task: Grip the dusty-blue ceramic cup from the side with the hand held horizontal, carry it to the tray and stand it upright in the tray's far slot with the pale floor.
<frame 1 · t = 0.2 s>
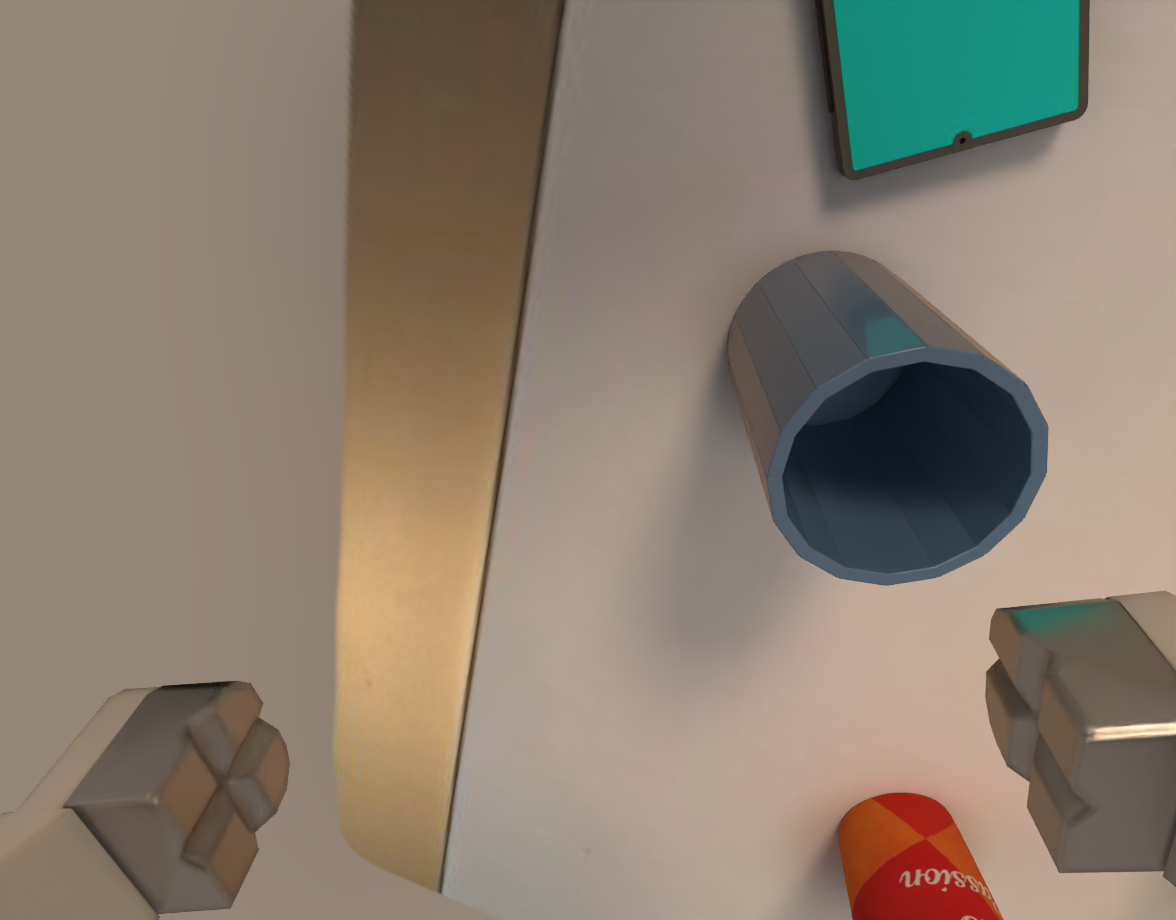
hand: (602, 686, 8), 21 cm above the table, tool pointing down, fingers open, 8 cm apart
coffee cup: (893, 826, 40), on the table
blue cup: (820, 343, 28), on the table
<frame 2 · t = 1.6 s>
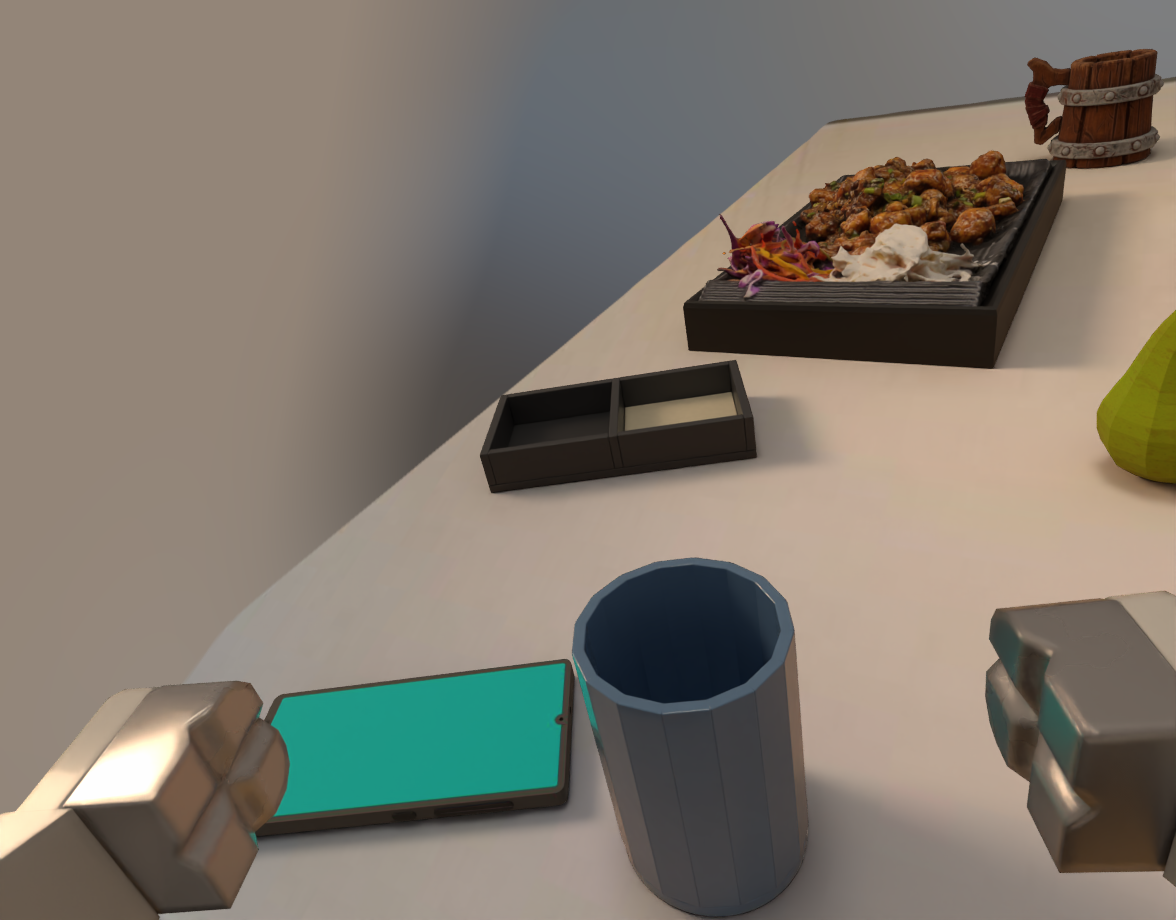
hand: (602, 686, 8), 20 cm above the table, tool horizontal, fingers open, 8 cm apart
tray: (621, 442, 56), on the table
fruit: (1161, 475, 41), on the table
blue cup: (713, 825, 28), on the table
food platter: (896, 269, 77), on the table
mug: (1084, 161, 98), on the table
smartphone: (409, 753, 34), on the table
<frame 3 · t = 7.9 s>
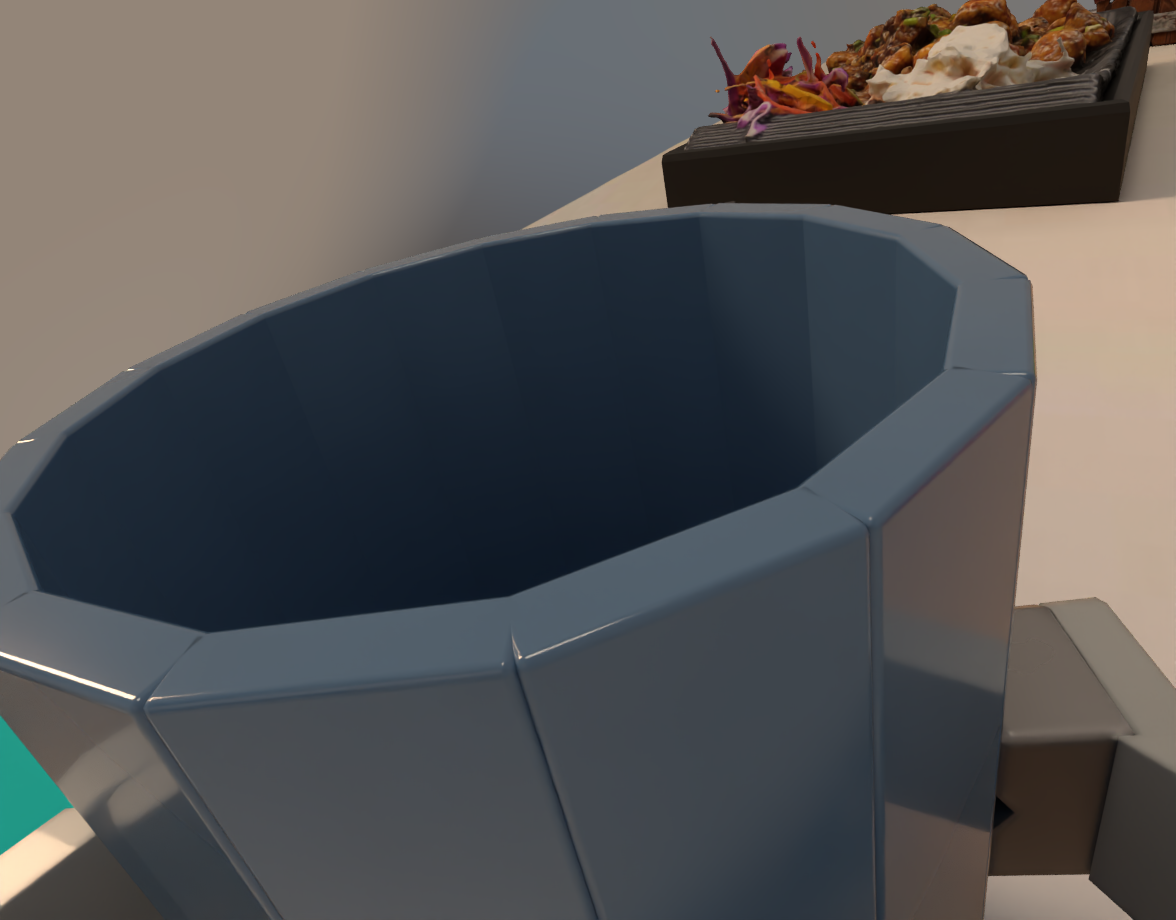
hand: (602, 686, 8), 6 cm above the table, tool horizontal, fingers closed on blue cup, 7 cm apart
food platter: (943, 137, 59), on the table
mug: (1159, 41, 81), on the table
smartphone: (39, 808, 16), on the table
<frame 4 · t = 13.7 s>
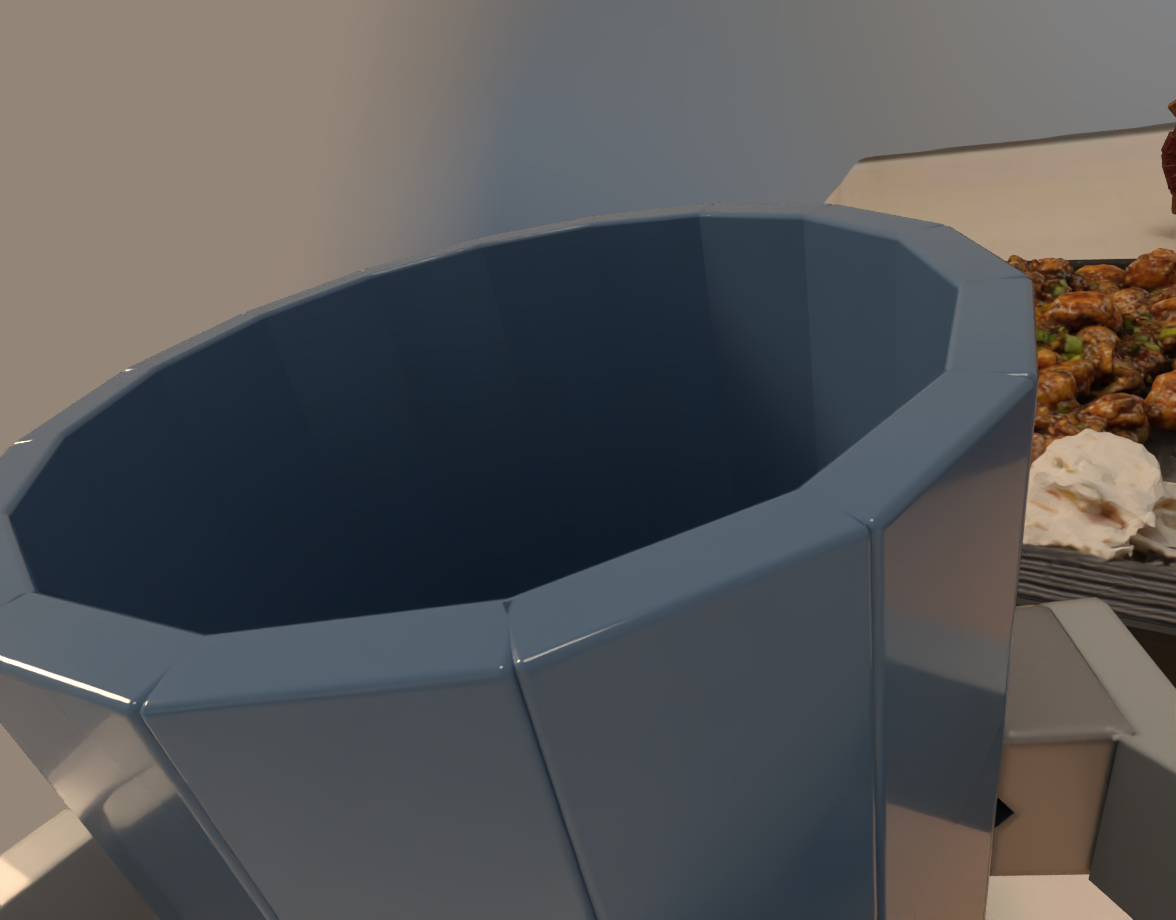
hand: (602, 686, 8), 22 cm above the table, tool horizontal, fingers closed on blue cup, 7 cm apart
food platter: (1029, 437, 50), on the table
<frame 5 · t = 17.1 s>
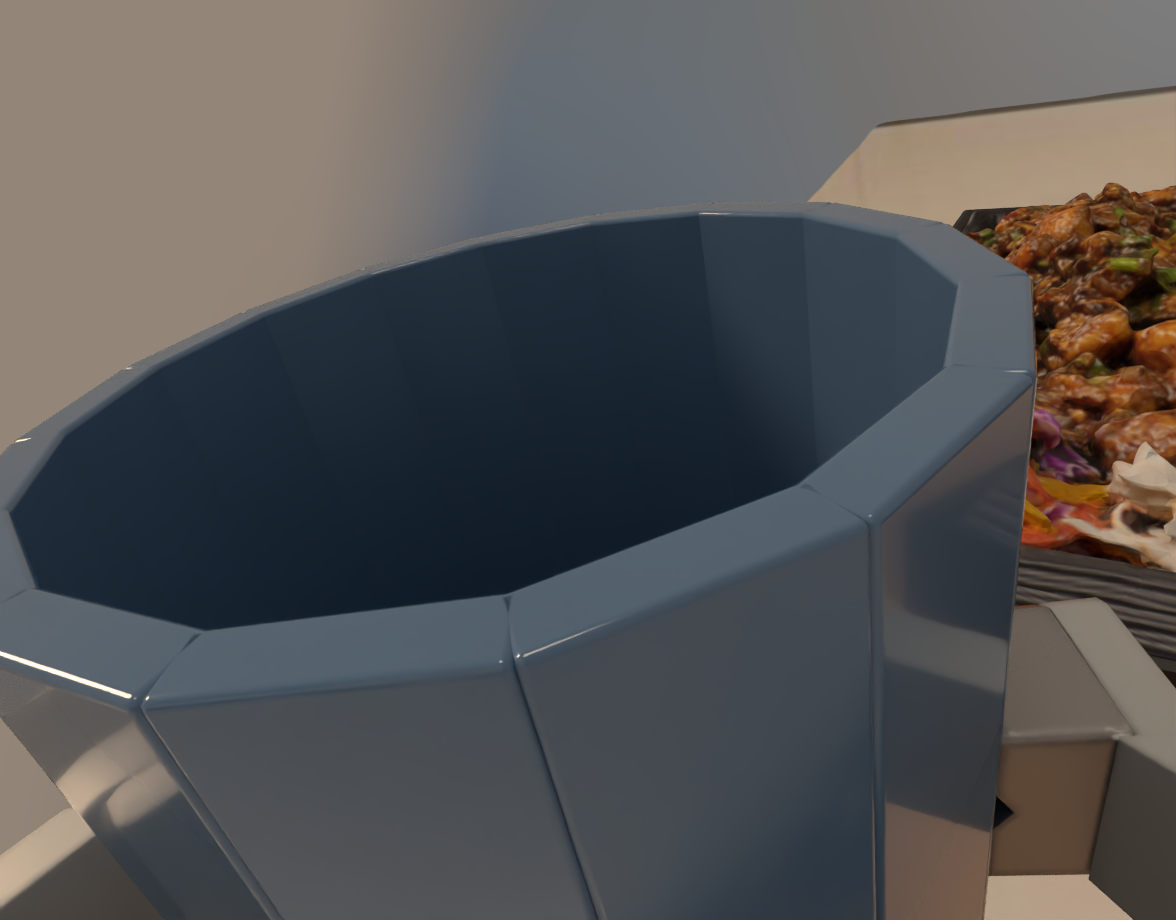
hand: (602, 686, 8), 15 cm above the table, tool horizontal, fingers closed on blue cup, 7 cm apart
food platter: (1146, 419, 37), on the table
when the fingers open (6 cm above the table, at t = 20.0 s): blue cup stays where it is, resting on tray.
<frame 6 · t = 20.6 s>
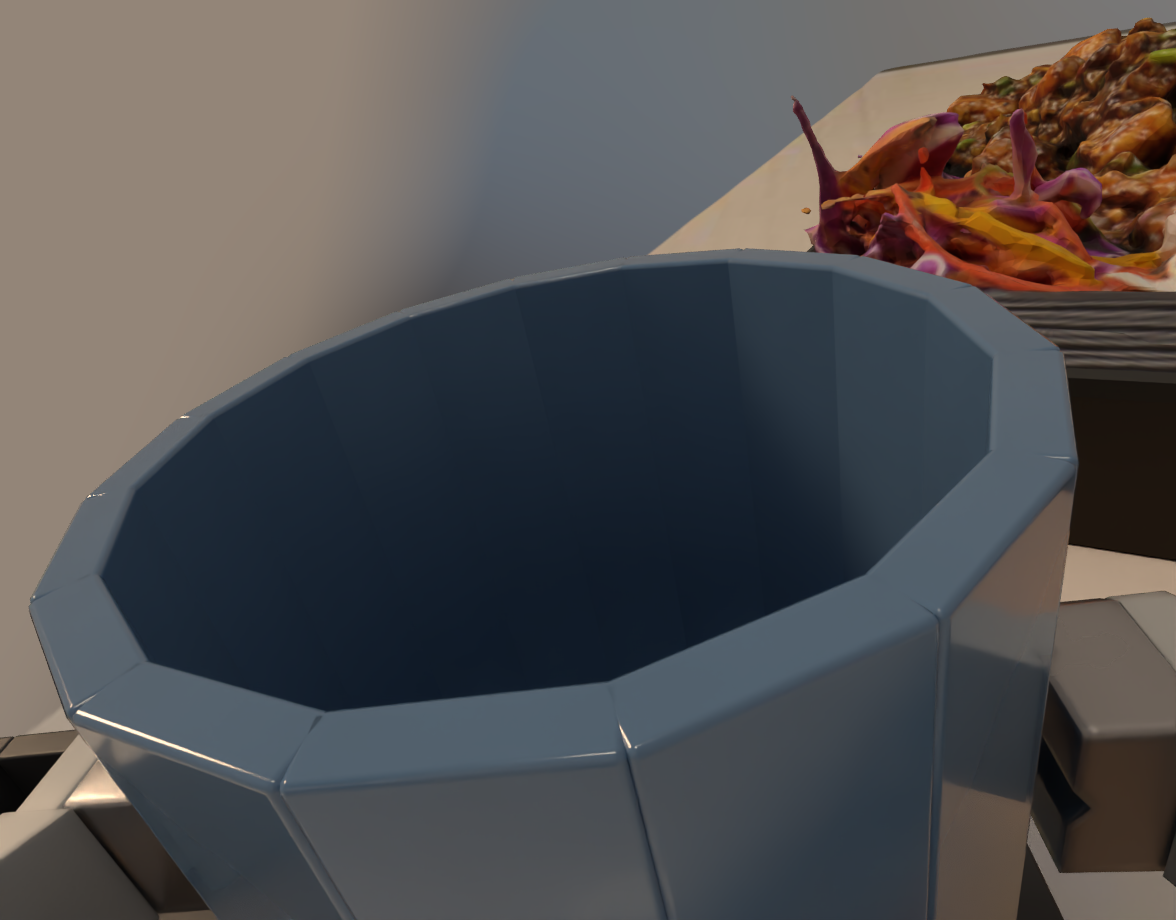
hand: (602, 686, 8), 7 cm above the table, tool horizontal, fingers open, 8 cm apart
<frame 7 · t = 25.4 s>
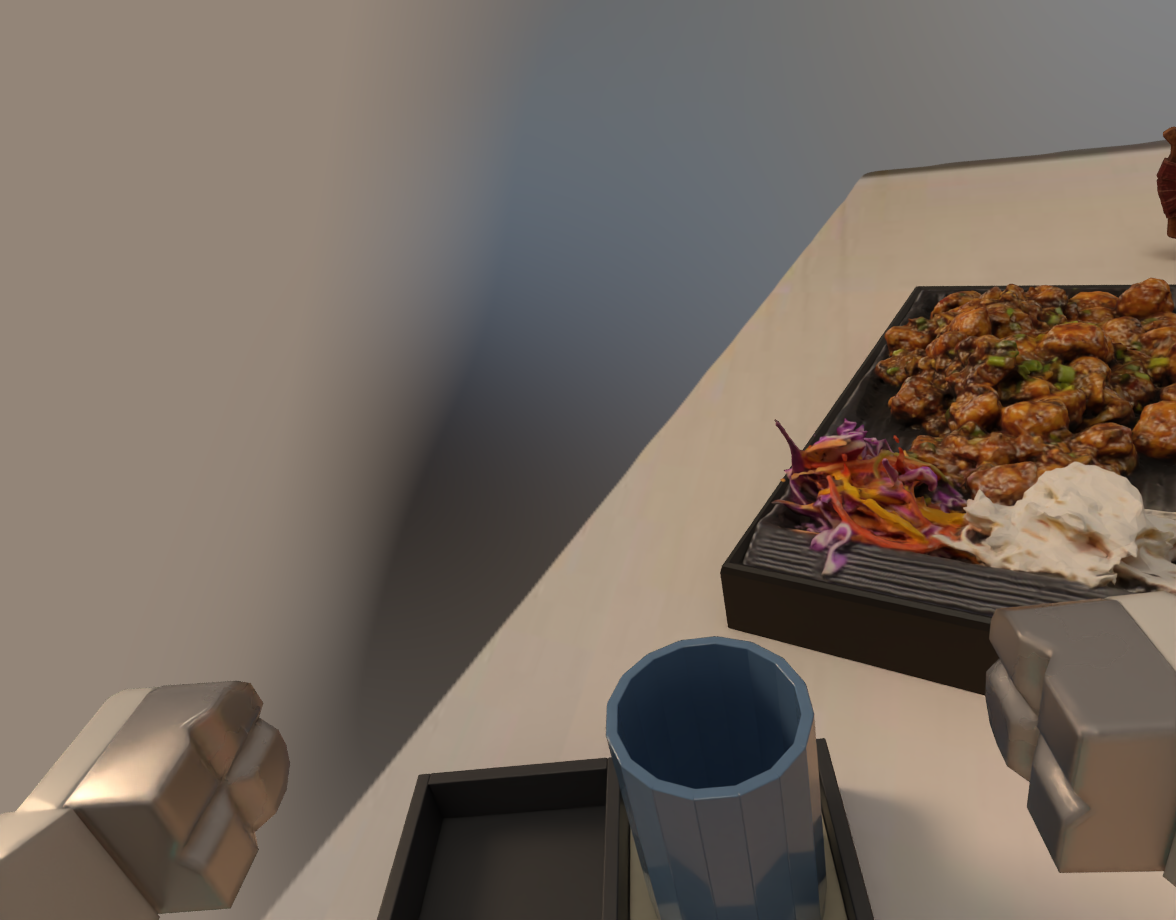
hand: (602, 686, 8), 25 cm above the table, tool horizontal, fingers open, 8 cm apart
tray: (624, 903, 31), on the table
blue cup: (736, 885, 30), point 1 cm above the table, touching tray
food platter: (1025, 461, 52), on the table
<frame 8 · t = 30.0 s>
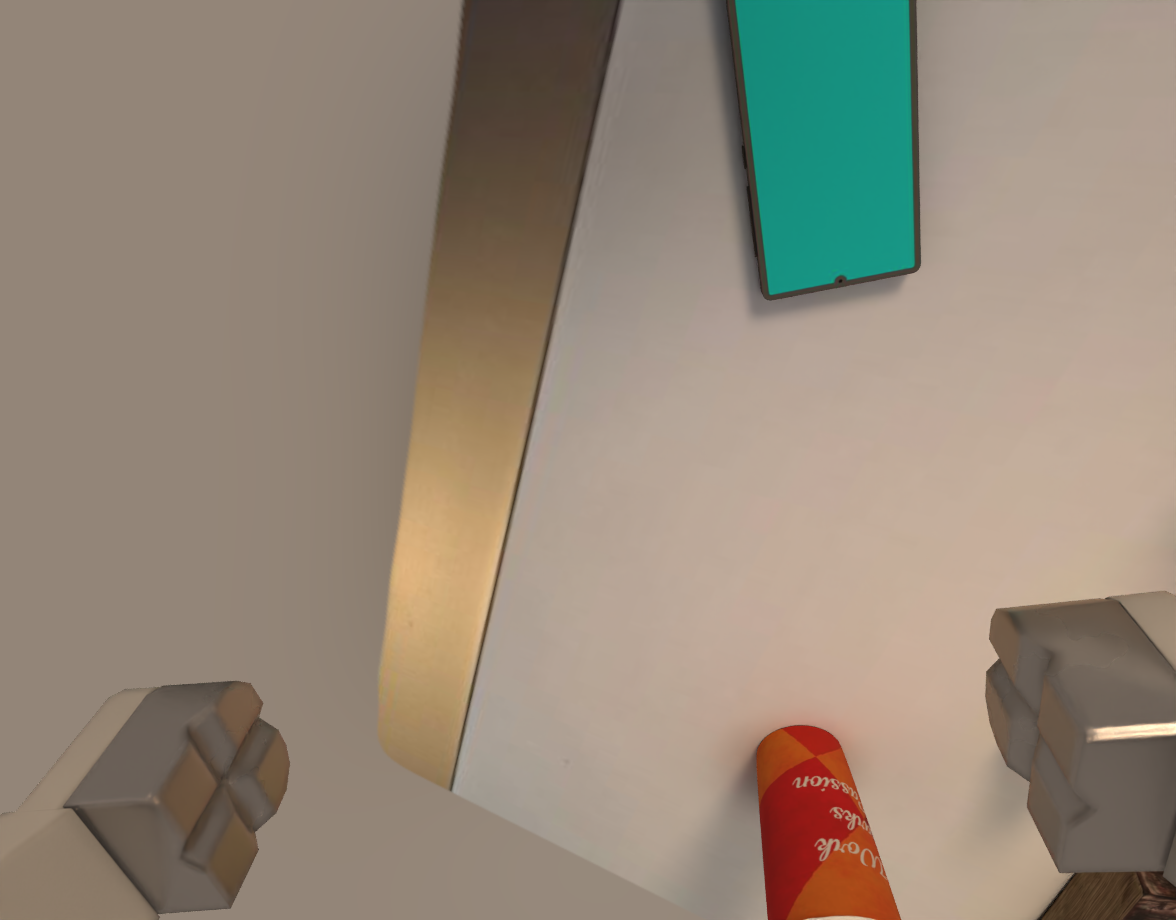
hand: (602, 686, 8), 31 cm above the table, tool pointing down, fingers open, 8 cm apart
coffee cup: (797, 751, 54), on the table
smartphone: (823, 116, 33), on the table
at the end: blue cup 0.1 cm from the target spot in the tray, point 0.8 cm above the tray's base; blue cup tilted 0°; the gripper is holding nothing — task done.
